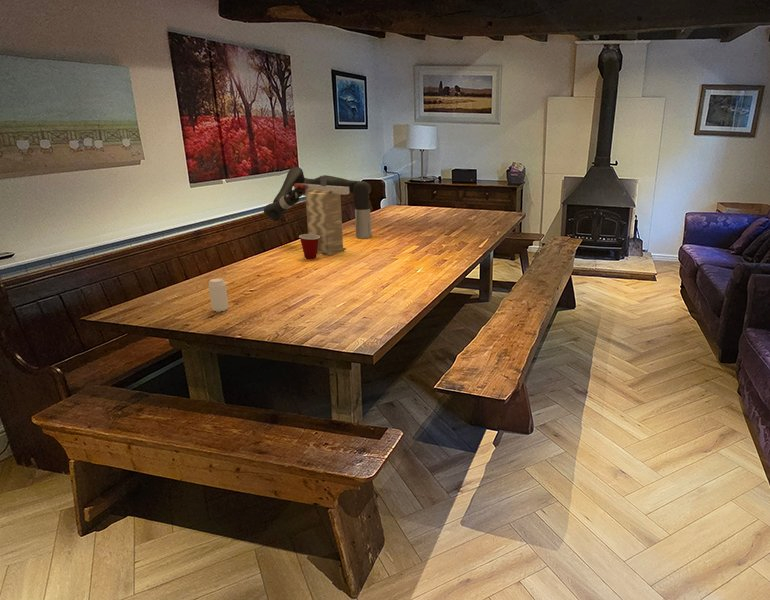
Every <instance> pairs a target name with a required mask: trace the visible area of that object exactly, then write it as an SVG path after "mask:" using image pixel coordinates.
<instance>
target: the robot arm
mask: <svg viewBox="0 0 770 600" xmlns="http://www.w3.org/2000/svg"><path fill="white" fill-rule="evenodd" d="M322 176H326V183H327V185H328V186H343V187H349V194H352V199H353V204H354V216H355V217H354V219H355V220H354V222H355V223H354V224H355V237H357V239H368V238H371V237H372V236H373V235H372V219H371V204H370V201H369V195H370V193H371V192H372V186H371V184H370V182H367V181H365V180H352V179H351V180H350V179H346V178H343V177H337V176H334V175H333V176H332V175H327V174H323V175H322ZM297 183H304V184H314V185H321V182H320V176H318V177H316V178H307V177H305V174H304V171H303V169H302V168H301V167H299V166H293V167H291V168H290V169H289V170H288V171H287V174H286V177H285V179H284V182H283V184H282V186H281V188H280V190H279V191H278V193H277V195H276V196H275V197H274V199H273V202H271V203H269V204H267V205H266V206H265V207H264V208H263V213H264V215H265V216H267V217H268V218H269V219H270V220H272V222H279V221H280V220H281V218H282V216H283V213H285V212H286V211H288V209H290V208H292V207H293V206H294V205H295V206H296V204H297V203H298V202H299V201H300V198H302V196H303V197H304V196H305V193H308V192H301V191H300V190H301V189H302V188H301V186H298V187H297V188H296V189H294V184H297ZM305 197H306V196H305Z"/></svg>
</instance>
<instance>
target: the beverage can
mask: <svg viewBox="0 0 770 600" xmlns="http://www.w3.org/2000/svg"><path fill="white" fill-rule="evenodd" d="M208 292H209V299H210V300H209V301H210V306H211V307H210V308H211V310H212V311H214V312H215V311H216V313H221V311H223V312H225V311H227V310H228V309H229V302H228V301H229V298H228V294H227V293H228V292H227V285H226V282H225V280H224V278H221V277H218V278H217V277H216V278H212V279H210V280H209V283H208Z"/></svg>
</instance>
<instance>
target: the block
mask: <svg viewBox="0 0 770 600" xmlns="http://www.w3.org/2000/svg"><path fill="white" fill-rule="evenodd" d="M319 177H320V182H321V185H314V184H304V183H297V184H294V186H293V189H296V188H297V187H298V186H301V188H302V189H301V190H300V191H301V192H309V190H320V191H330V193H331V194H341V195H349V194H350V192H349V187H343V186H328V185H327V183H326V176H323V175H319Z"/></svg>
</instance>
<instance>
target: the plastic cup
mask: <svg viewBox="0 0 770 600" xmlns="http://www.w3.org/2000/svg"><path fill="white" fill-rule="evenodd" d="M298 237H299V239H300V240H299V241H300V243H301V248H302V252H303V256H304V259H305V258H306V259H305V260H315V259H317V256H318V254H317V248H318V241H319V238H320V236H319V235H315V234H308V233H304V234H300V235H299V236H298Z"/></svg>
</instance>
